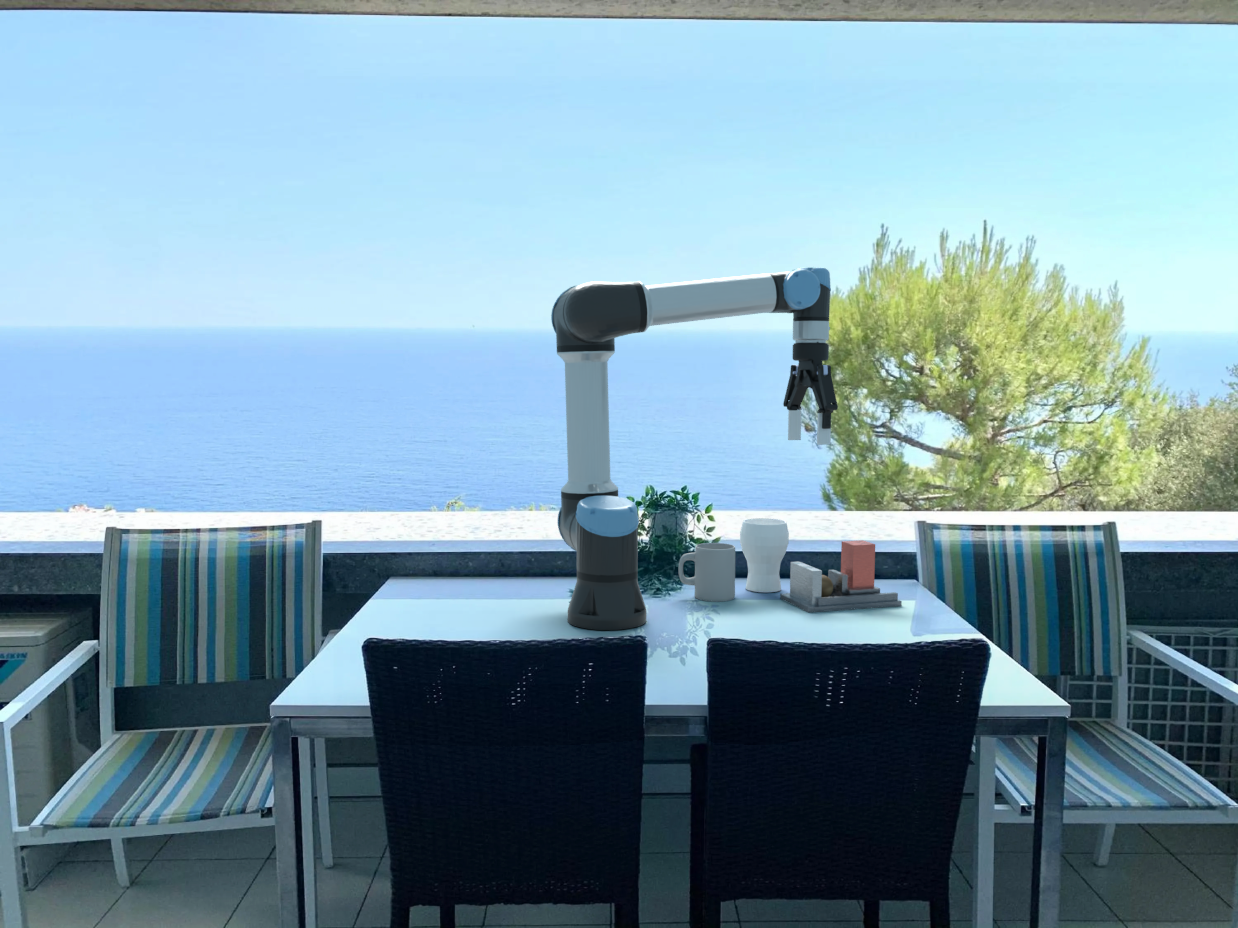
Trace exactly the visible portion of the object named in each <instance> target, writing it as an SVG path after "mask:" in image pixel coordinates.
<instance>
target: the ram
mask: <svg viewBox="0 0 1238 928" xmlns="http://www.w3.org/2000/svg"><path fill="white" fill-rule="evenodd" d="M840 549H841V552H840V556H841V557H840V571H838V570H836V569H828V571H827V573H828V574H827V577H829V578H830V579H831V581H832V583H833V591H832V593H831V595H833V596H848V595H862V594H877V593H881V588H880V587H877V586H875V572H876V571H875V570H876V569H875V568H876V567H875V565H876V564H875V563H876V544H875V543H872V542H871V541H867V540H863V539H860V540H859V539H858V540H843V541H842V540H841V548H840Z"/></svg>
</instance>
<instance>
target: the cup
mask: <svg viewBox="0 0 1238 928" xmlns="http://www.w3.org/2000/svg"><path fill="white" fill-rule="evenodd" d="M789 537H790V533H789V529H788V524H787V521H786V520H784V519H776V518H763V517H762V518H757V517H756V518H747V519H744V520H742V523H741V527H740V531H739V543H740V547H741V551H742V553H743V555H744V557H745V560H746V565H747V577H746V583H745V584H746V585H745V589H746V590H748V591H750V592H754V593H757V592H758V593H774V592H775V593H776V592H780V591H781V590H782V584H781V577H780V571H781V570H780V569H781V563H782V560H783V558H784V557H785V554H786V553H787V549H788V546H789V540H790V539H789Z"/></svg>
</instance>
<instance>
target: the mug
mask: <svg viewBox="0 0 1238 928" xmlns="http://www.w3.org/2000/svg"><path fill="white" fill-rule="evenodd" d="M694 549H695V550H694V552H688V553H684V554H682V555H681V556H680V559H679V561H678V568H677V569H678V577H679V580H680V582H681V583H682V584H684V585H687V586H694V597H695V599H697V600H700V601H705V602H711V603H712V602H715V603H716V602H719V603H720V602H728V601H733V600H734V599H735V597H736V546H735V545H734V544H729V543H723V542H722V543H721V542H705V543H704V542H702V543H699V544H696V545H695V547H694ZM686 561H691V562H692V561H693V562H694V576H692V577H686V576H685V574H684V563H686Z"/></svg>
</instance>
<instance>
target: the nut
mask: <svg viewBox="0 0 1238 928" xmlns="http://www.w3.org/2000/svg"><path fill="white" fill-rule="evenodd" d="M832 591H833V583H832V581H831V579H830V578H829V577H828V575H825V574H822V591H821V597H829V596H830V595H831V593H832Z"/></svg>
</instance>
